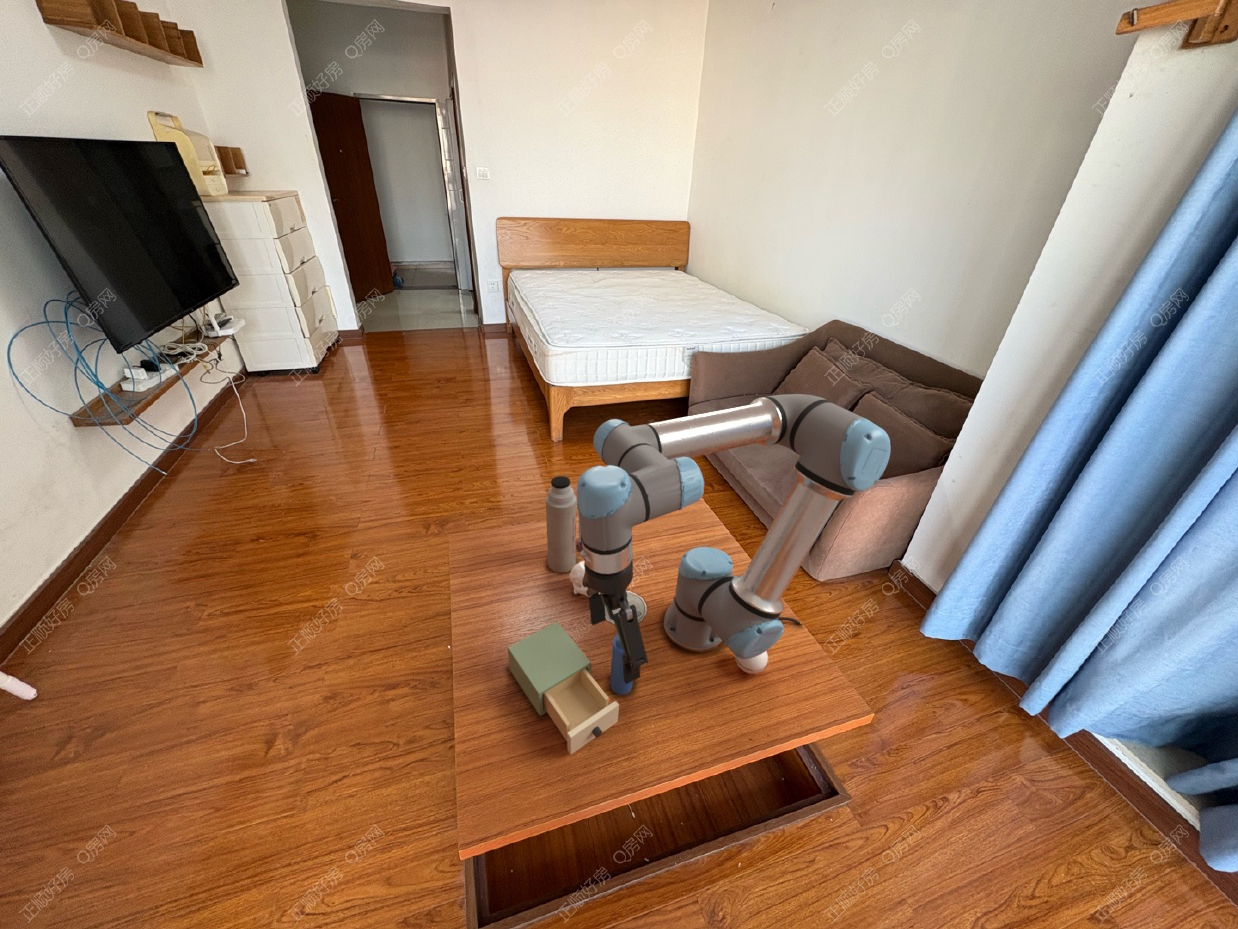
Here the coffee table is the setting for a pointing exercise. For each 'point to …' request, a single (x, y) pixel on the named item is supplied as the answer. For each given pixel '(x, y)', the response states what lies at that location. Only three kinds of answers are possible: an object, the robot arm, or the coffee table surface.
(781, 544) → the robot arm
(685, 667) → the coffee table surface
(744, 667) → the white oval solid
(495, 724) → the coffee table surface
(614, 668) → the bottle
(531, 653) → the cabinet
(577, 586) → the white sculpted piece
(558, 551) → the thermos bottle
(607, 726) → the drawer
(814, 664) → the coffee table surface
